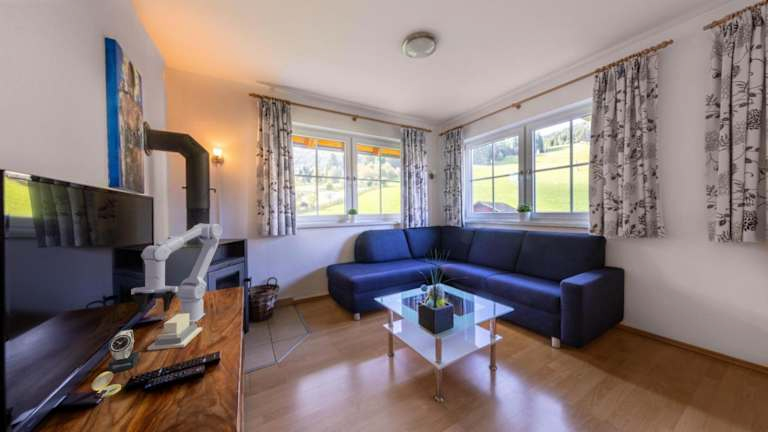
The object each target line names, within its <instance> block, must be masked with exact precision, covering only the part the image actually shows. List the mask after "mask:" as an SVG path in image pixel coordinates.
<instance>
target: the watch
mask: <svg viewBox="0 0 768 432" xmlns="http://www.w3.org/2000/svg"><path fill="white" fill-rule="evenodd" d="M134 343H135V339H134V332H133V329H127V330H120V331H119V332H118V333H117V334H116V335H115V336H114V338H113V339H111V340H110V342H109V345H108V348H109V350H110V352H111V355H112V356H113V357H112V358H111V360H110V361H109V362H108V371H107V372H112V373H113V374H114V373H118V372H123V371H127V370H132V369H134V368H135V367H136V365H137V364H138V362H140V360H139V352H140V351H135V352H132V351H133V348H134Z"/></svg>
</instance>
